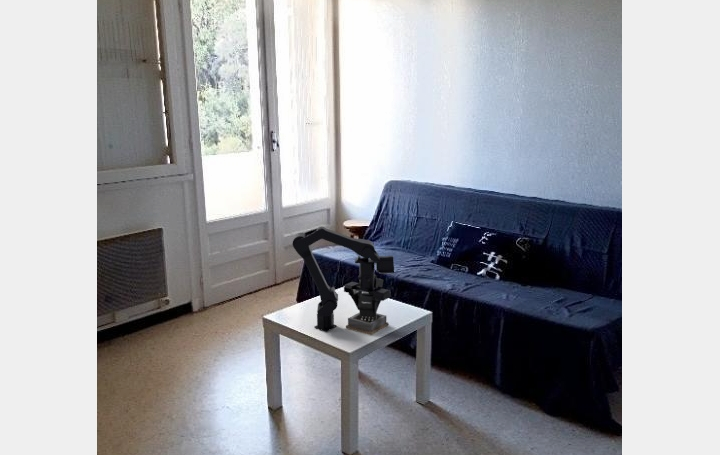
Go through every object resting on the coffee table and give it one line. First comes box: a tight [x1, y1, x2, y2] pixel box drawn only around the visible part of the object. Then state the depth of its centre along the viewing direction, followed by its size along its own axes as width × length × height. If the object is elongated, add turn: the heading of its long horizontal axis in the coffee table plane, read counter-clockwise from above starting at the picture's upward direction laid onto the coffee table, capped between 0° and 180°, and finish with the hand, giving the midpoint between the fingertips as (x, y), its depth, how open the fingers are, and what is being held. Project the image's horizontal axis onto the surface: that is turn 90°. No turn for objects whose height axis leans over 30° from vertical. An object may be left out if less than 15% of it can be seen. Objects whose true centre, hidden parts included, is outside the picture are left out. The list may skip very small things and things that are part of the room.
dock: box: [345, 311, 390, 336], centre depth 227 cm, size 12×12×4 cm
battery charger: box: [358, 292, 378, 323], centre depth 225 cm, size 7×4×11 cm, turn 75°
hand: (367, 311), depth 226 cm, fingers closed on battery charger, 7 cm apart
